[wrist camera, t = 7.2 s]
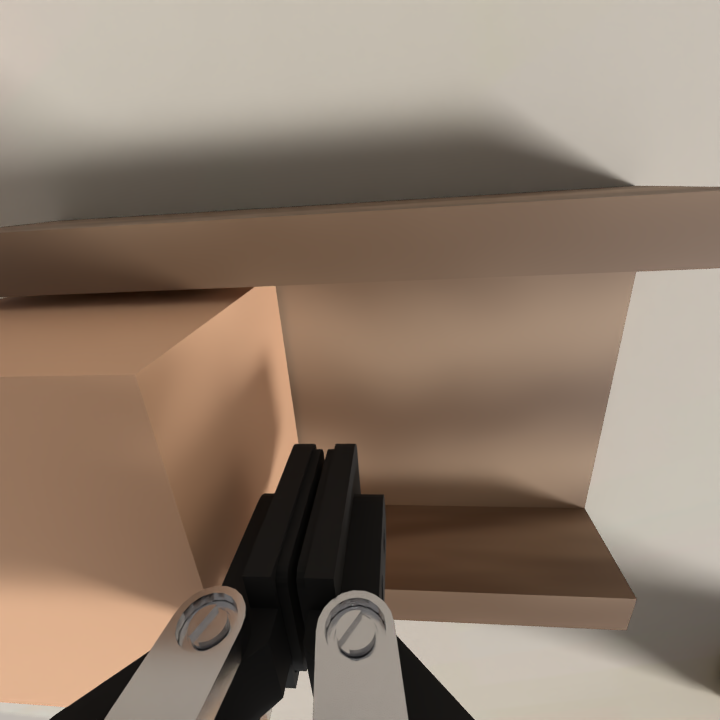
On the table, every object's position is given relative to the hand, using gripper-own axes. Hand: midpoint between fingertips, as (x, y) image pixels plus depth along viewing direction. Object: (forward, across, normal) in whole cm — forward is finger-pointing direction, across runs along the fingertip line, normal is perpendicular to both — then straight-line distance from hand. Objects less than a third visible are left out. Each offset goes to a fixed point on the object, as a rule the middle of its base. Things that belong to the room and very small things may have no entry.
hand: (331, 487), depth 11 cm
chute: (+6, 0, 0) cm, 6 cm away
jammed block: (+5, +6, 0) cm, 8 cm away
